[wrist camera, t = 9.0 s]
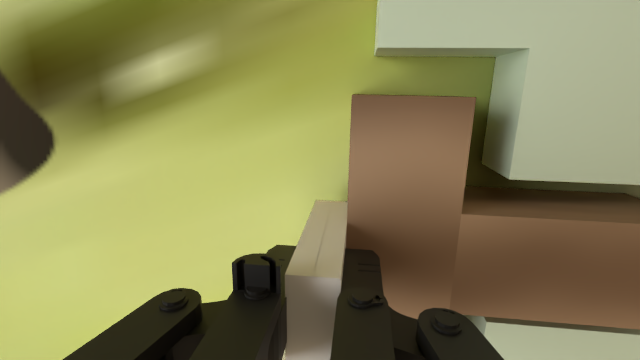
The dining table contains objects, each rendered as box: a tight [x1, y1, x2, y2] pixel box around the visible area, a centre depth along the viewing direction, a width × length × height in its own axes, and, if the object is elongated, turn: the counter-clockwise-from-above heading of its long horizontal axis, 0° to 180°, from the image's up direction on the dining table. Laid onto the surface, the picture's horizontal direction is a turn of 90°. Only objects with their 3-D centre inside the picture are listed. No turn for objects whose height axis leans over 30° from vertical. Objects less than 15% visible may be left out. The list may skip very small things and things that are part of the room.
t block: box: [346, 94, 640, 330], centre depth 14 cm, size 12×12×4 cm
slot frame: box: [374, 0, 640, 360], centre depth 15 cm, size 19×14×3 cm
